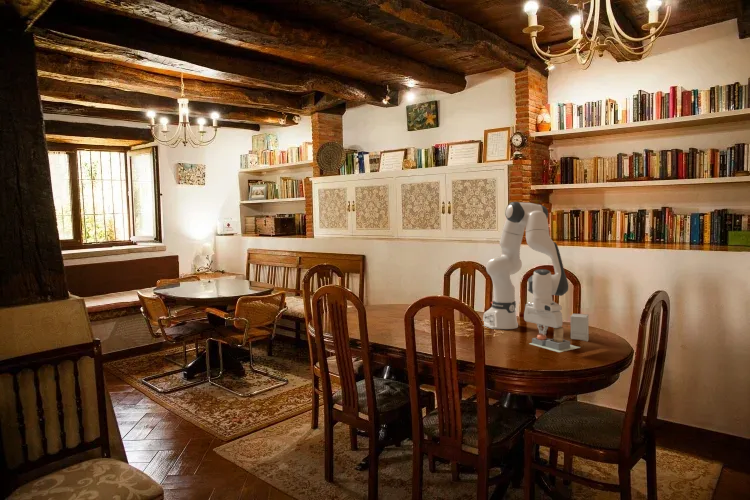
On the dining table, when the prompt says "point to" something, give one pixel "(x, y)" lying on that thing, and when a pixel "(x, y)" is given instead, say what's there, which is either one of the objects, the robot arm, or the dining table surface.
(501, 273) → the robot arm
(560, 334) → the cell
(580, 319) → the supplement box
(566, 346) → the grey test fixture
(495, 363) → the dining table surface
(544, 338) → the test button
